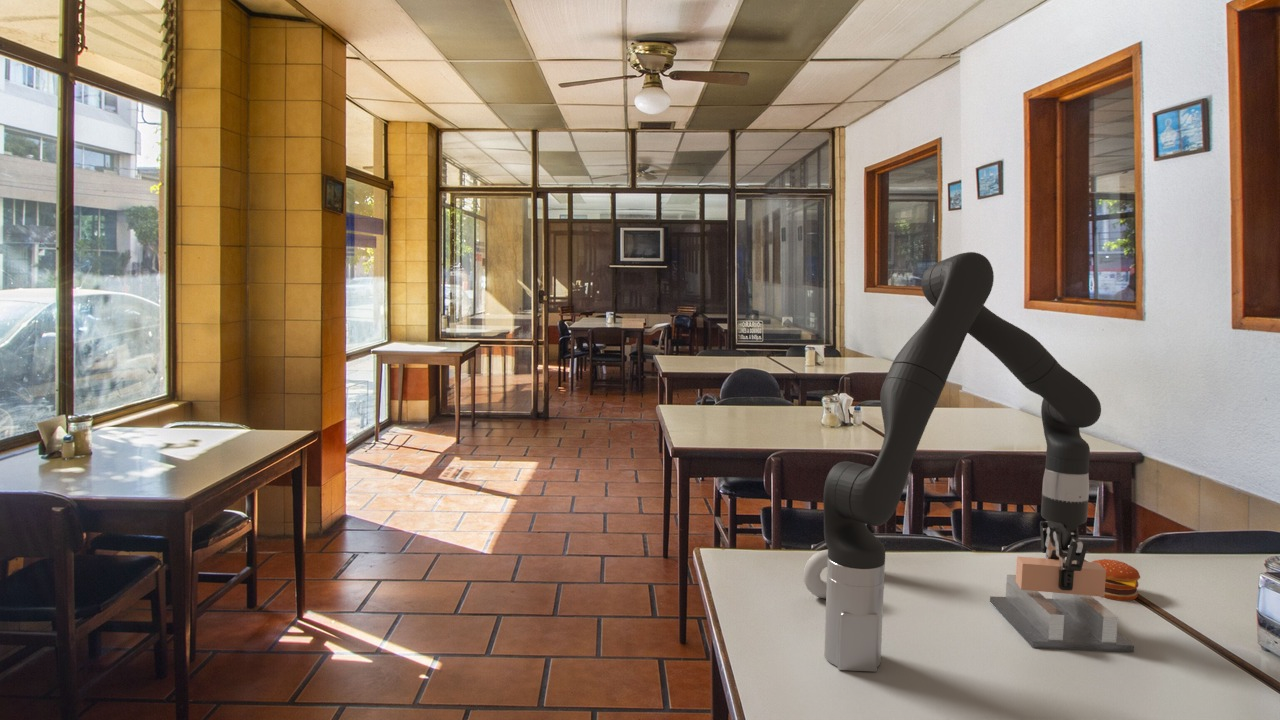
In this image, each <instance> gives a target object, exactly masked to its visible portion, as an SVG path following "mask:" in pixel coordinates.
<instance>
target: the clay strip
mask: <svg viewBox="0 0 1280 720" xmlns="http://www.w3.org/2000/svg"><path fill="white" fill-rule="evenodd" d="M1065 562H1066V559H1065ZM1076 563H1077V560H1076ZM1015 572H1016V573H1015V575H1016V583H1017V584H1018V586H1019V587H1020V589H1021V590H1030V591H1038V592H1042V593H1043V592H1045V593H1053V592H1054V593H1065V594H1077V595H1088V596H1092V597H1101V598H1104V594H1105V580H1106V570H1105V569H1104V568H1103V567H1102V566H1101V565H1100V564H1099V563H1096V562H1092V561H1084V562H1083V566H1082V570H1081V571H1074V577H1073V589H1072V590H1070V591H1069V590H1061V589H1060V588H1059V572H1060V562H1059V560H1058V559H1046V557H1045V558H1043V557H1030V556H1029V557H1028V556H1019V555H1018V556H1016V570H1015Z"/></svg>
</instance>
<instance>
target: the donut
mask: <svg viewBox="0 0 1280 720" xmlns="http://www.w3.org/2000/svg"><path fill="white" fill-rule="evenodd" d="M827 565H828V549H823V550H819V551H817V552H815V553H814V554H812V555H811V556H810V557H809V559H807V561H806V564H805V565H804V569H803V573H802V574H803V578H802V579H803V582H804V585H805V587H806V588H807V590H808V591H809V593H811V594H812V595H814V596H815V597H818V598H820V599H826V590H827V580H826V581H825V580H822V579H821V573H822V571H823V570H824V569H826V568H827Z"/></svg>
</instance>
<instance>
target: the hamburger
mask: <svg viewBox="0 0 1280 720" xmlns="http://www.w3.org/2000/svg"><path fill="white" fill-rule="evenodd" d="M1091 562H1096V563H1099V564H1100V565H1101V566H1102V567H1103V568H1104V569H1105V570H1106V580H1105V594H1104V597H1103V598H1104V599H1107V600H1113V601H1114V600H1115V601H1119V602H1120V601H1121V602H1122V601H1126V602H1127V601H1133V600H1135V599H1137V598H1138V597H1139V596H1138V594H1139V593H1138V591H1137V590H1138V587H1139V582H1138V580H1140V579H1141V575H1140V572H1139V570H1138V569H1137V568H1136V567H1133V566H1132V565H1129V564H1128V563H1126V562H1123V561H1121V560H1120V561H1119V560H1116V559H1107V558H1106V559H1105V558H1104V559H1097V560H1092V561H1091Z"/></svg>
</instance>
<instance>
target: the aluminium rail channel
mask: <svg viewBox="0 0 1280 720" xmlns="http://www.w3.org/2000/svg"><path fill="white" fill-rule="evenodd" d="M1005 585H1006V586H1005V596H991V595H990V597H989V603H990V602H991V603H992V604H993V605H994V606H995V607H996V608H995V607H994V606H993V605H992V604H991V603H990V604H991V605H992V606H993V607H994V608H995V609H996V610H997V611H998V612H999V614H1000V615H1001V614H1002V617H1003V618H1004V619H1005V620H1006V621H1007V622H1008V623H1009V624H1010V625H1011V626H1012V628H1013V629H1014V630H1015V631H1016V632H1017V633H1018V634H1019V635H1020V636H1021V637H1022V639H1024V640H1025V641H1026V642H1027V643H1028V645H1029V646H1030V647H1031V648H1032V649H1050V650H1052V649H1054V650H1073V651H1074V650H1075V651H1076V650H1078V651H1096V652H1097V651H1099V652H1100V651H1102V652H1119V653H1120V652H1122V653H1134V652H1135V645H1134V644H1133V643H1132V642H1131V641H1129V639H1127V638H1126V637H1125V636H1123V635H1122V634H1121V633H1119V632H1118V621H1119V617H1118V615H1116V614H1115V613H1114V612H1112V611H1111V610H1110V609H1109V608H1107V607H1106V606H1105V605H1103V604H1102V603H1100V602H1099V601H1098V600H1097V599H1096V598H1094V596H1088V595H1077V594H1065V593H1054V592H1052V598H1047V597H1046V596H1044V595H1043V594H1042V593H1041V592H1040V591H1030V590H1021V589H1020V587H1019V586H1018V584H1017V583H1016V574H1006V584H1005Z"/></svg>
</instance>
